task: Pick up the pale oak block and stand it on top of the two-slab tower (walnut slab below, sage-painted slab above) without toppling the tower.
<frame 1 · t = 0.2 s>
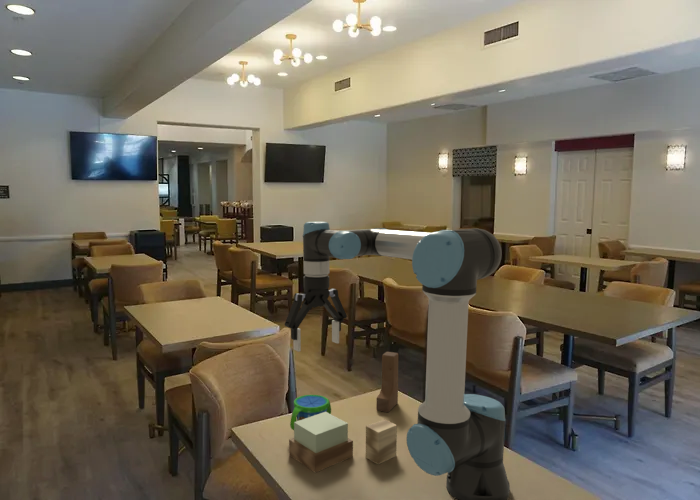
hand: (316, 346, 154), 28 cm above the table, fingers open, 13 cm apart
sage slab: (320, 440, 145), point 5 cm above the table, touching walnut slab
walnut slab: (321, 457, 145), on the table, touching sage slab
wooden block: (387, 407, 179), on the table
oak block: (381, 456, 145), on the table
snack cup: (311, 433, 159), on the table
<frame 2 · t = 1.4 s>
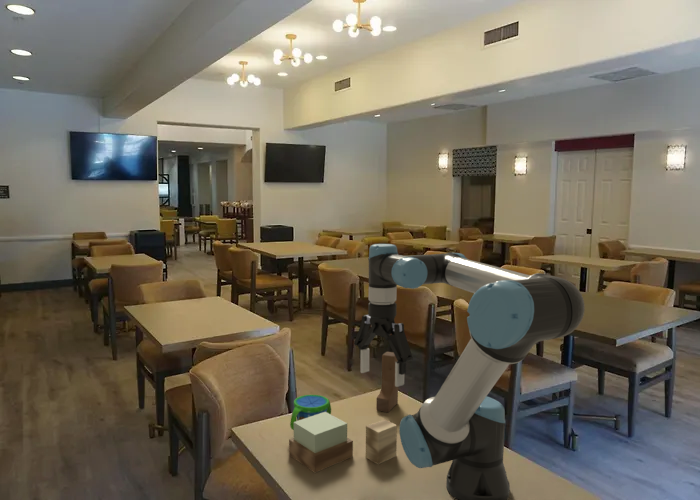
hand: (381, 378, 143), 22 cm above the table, fingers open, 13 cm apart
nothing on the table moved.
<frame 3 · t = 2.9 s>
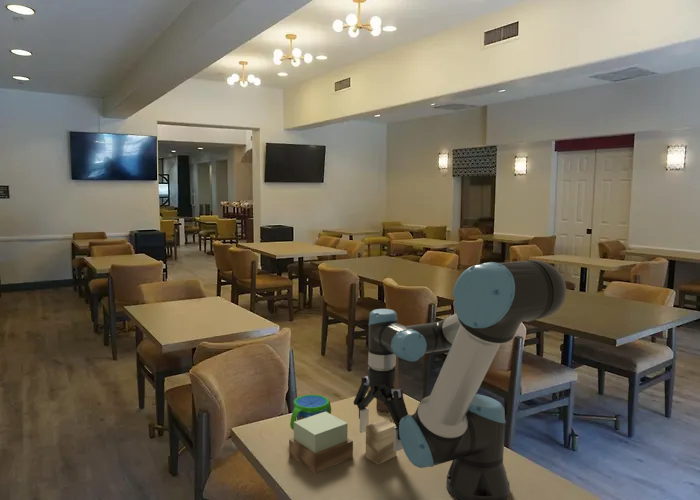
hand: (380, 440, 145), 5 cm above the table, fingers open, 13 cm apart
nothing on the table moved.
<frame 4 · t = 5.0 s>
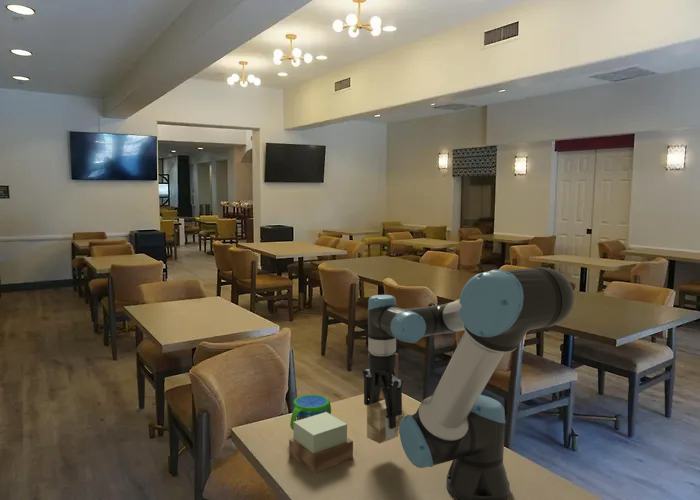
hand: (382, 435, 144), 6 cm above the table, fingers closed on oak block, 5 cm apart
oak block: (382, 436, 144), point 6 cm above the table, touching gripper
everything else where it was.
when the fingers open (10 cm above the table, at t = 10.3 s): oak block stays where it is, resting on sage slab.
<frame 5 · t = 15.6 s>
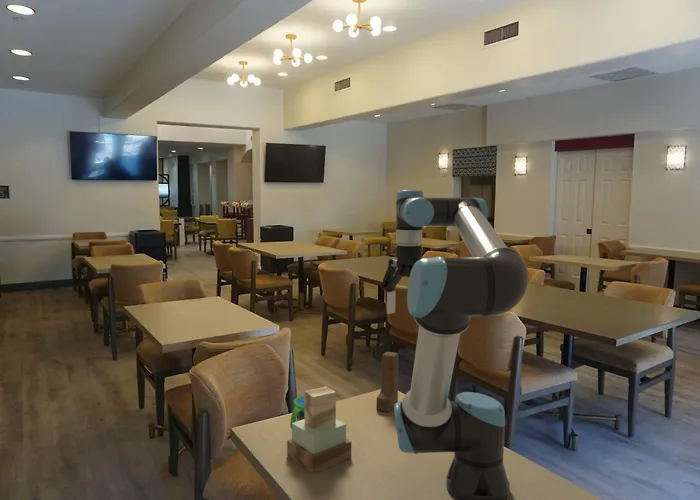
hand: (407, 317, 152), 37 cm above the table, fingers open, 13 cm apart
sage slab: (318, 441, 144), point 4 cm above the table, touching oak block
walnut slab: (319, 458, 145), on the table
oak block: (320, 423, 144), point 9 cm above the table, touching sage slab
everything else where it was.
at the end: oak block inside the target area on the walnut slab (0.5 cm from its centre), point 10.0 cm above the walnut slab's base; oak block tilted 1°; sage slab 0.1 cm off-centre on the walnut slab, point 5.0 cm above the walnut slab's base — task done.
